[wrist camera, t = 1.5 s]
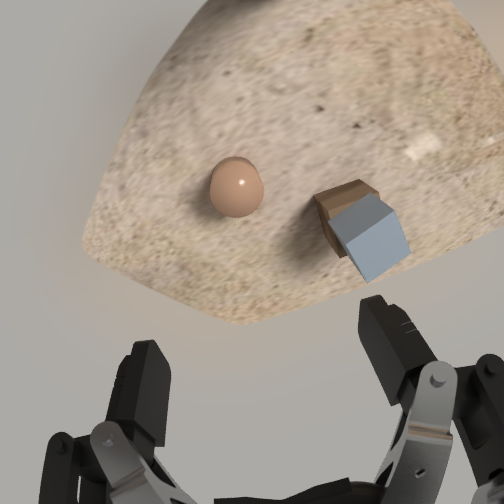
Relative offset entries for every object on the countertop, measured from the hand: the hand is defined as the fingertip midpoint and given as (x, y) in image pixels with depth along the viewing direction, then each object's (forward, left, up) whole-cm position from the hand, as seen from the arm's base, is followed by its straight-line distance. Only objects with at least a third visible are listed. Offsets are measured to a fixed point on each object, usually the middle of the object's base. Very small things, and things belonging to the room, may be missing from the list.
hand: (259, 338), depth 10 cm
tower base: (+6, +12, -23) cm, 26 cm away
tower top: (+6, +12, -18) cm, 22 cm away
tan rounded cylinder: (0, 0, -23) cm, 23 cm away
